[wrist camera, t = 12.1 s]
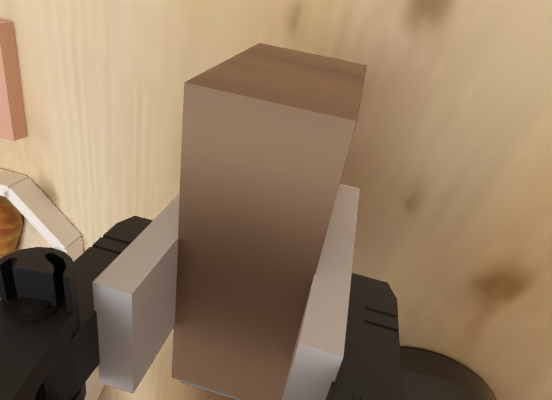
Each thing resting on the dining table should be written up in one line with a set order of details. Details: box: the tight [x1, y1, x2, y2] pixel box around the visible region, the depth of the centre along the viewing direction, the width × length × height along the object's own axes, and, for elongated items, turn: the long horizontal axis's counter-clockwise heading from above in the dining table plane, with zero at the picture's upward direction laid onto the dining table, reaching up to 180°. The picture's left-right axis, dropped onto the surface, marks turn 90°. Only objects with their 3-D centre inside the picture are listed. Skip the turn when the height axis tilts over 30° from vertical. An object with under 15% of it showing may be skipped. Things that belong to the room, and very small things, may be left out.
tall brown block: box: [172, 43, 367, 400], centre depth 13 cm, size 15×6×5 cm, turn 170°
